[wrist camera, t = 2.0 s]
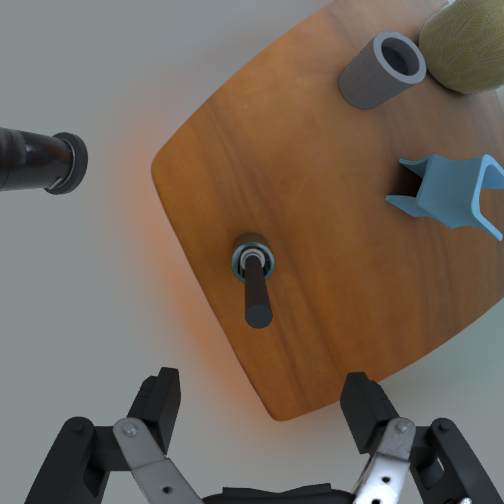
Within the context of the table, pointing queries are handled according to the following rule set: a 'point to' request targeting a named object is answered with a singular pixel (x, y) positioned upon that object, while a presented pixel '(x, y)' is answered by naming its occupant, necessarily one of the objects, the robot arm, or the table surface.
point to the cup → (382, 70)
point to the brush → (255, 288)
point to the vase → (466, 45)
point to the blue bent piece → (451, 190)
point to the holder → (247, 241)
